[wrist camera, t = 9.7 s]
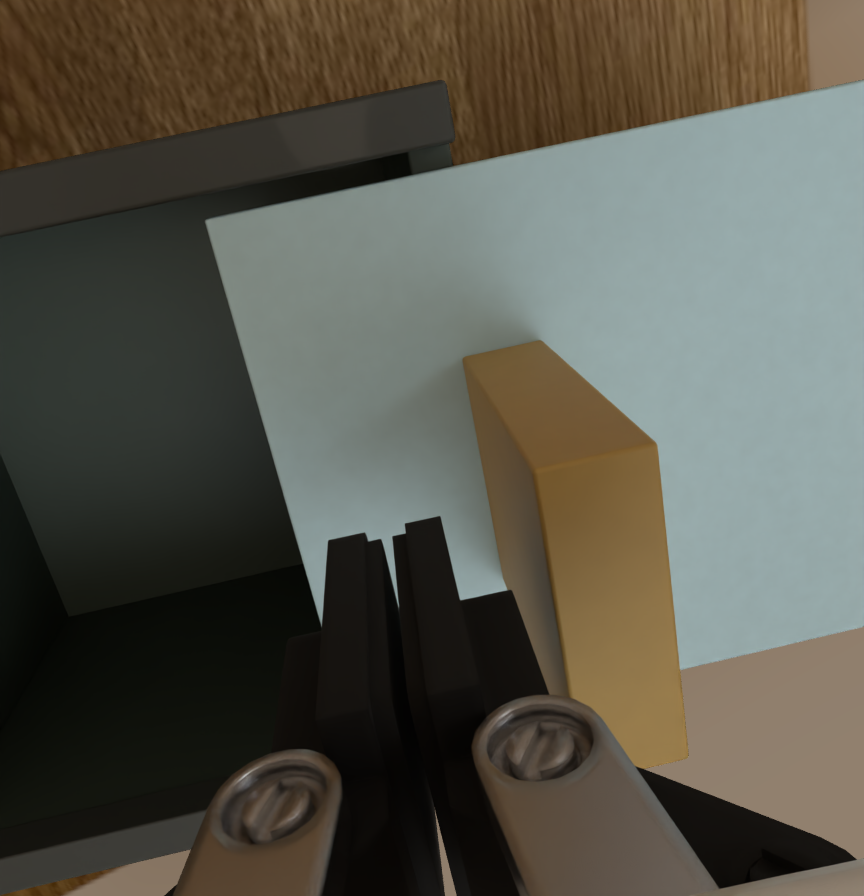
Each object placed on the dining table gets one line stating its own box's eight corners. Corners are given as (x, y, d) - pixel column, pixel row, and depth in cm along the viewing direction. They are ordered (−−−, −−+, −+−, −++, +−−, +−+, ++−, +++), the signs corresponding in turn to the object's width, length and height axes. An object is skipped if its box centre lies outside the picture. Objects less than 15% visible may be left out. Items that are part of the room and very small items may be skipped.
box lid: (1031, 44, 15) (1497, -33, 9) (995, 585, 19) (1295, 779, 13) (207, 218, 14) (113, 260, 8) (355, 735, 19) (363, 1010, 13)
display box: (396, 115, 24) (446, 78, 13) (478, 533, 30) (563, 760, 18) (-112, 221, 24) (-509, 276, 13) (61, 628, 29) (-113, 923, 18)
